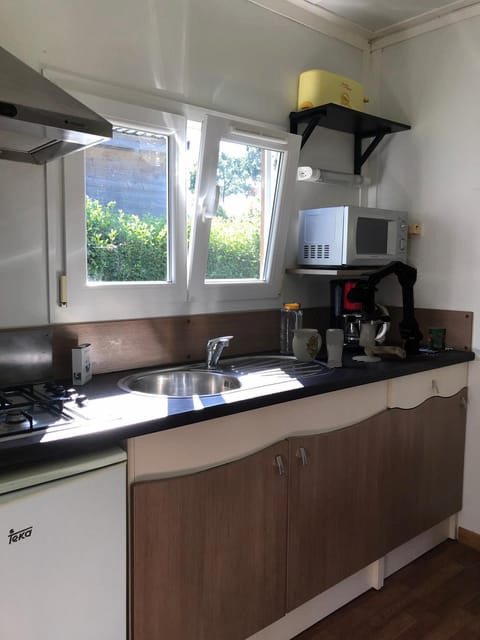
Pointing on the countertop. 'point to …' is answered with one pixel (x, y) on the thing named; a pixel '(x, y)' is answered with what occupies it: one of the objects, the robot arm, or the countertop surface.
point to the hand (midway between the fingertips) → (367, 338)
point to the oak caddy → (385, 351)
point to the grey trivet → (367, 358)
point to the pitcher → (306, 344)
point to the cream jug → (367, 335)
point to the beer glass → (334, 347)
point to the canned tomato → (437, 339)
